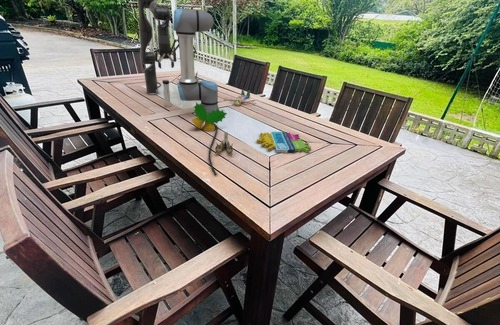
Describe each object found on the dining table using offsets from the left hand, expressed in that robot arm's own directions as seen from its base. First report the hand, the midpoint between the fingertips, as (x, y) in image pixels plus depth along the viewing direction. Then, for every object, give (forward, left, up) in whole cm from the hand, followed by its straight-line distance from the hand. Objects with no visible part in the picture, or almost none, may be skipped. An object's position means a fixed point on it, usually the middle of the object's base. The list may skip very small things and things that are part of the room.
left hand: (166, 68), depth 181 cm
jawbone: (+81, 0, -29) cm, 85 cm away
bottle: (-6, +1, -29) cm, 29 cm away
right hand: (-26, +23, -1) cm, 35 cm away
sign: (+87, +35, -29) cm, 98 cm away
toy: (+7, +59, -29) cm, 66 cm away
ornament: (+49, +8, -29) cm, 57 cm away
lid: (-6, +1, -10) cm, 12 cm away
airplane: (-58, +43, -29) cm, 78 cm away
